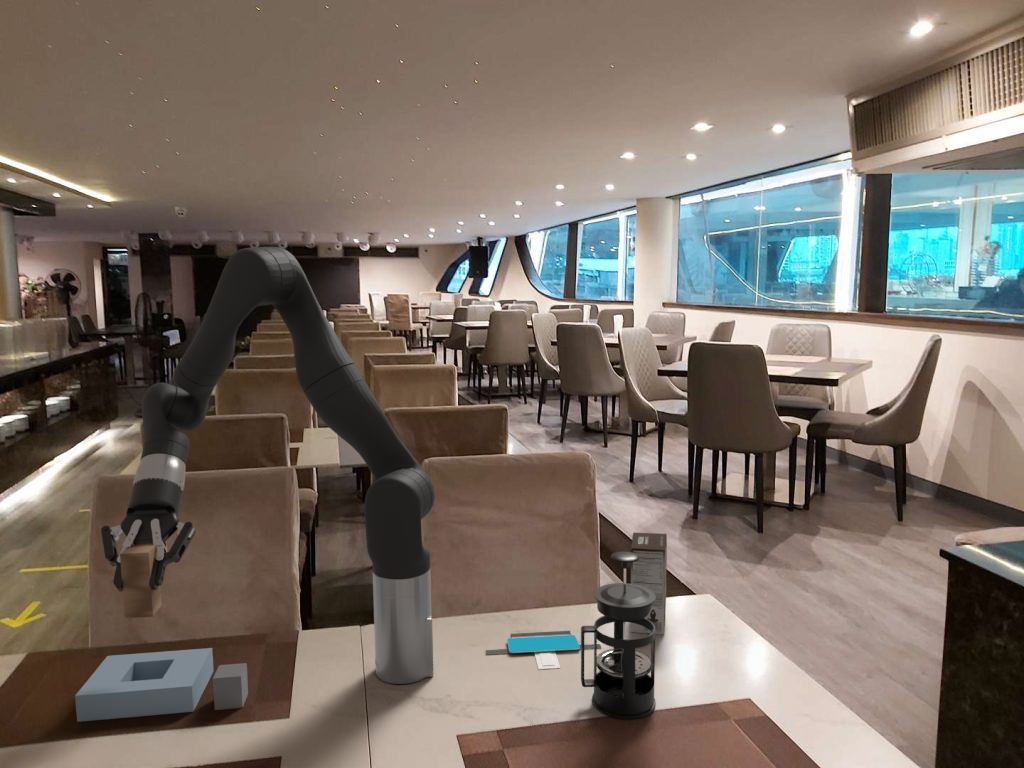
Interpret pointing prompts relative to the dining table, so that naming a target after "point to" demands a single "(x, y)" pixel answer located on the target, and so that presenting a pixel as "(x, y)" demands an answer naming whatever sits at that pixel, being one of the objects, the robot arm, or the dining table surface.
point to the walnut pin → (139, 581)
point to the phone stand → (542, 646)
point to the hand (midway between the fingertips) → (137, 588)
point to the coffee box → (651, 576)
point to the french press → (622, 649)
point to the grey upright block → (230, 686)
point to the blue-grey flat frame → (145, 684)
